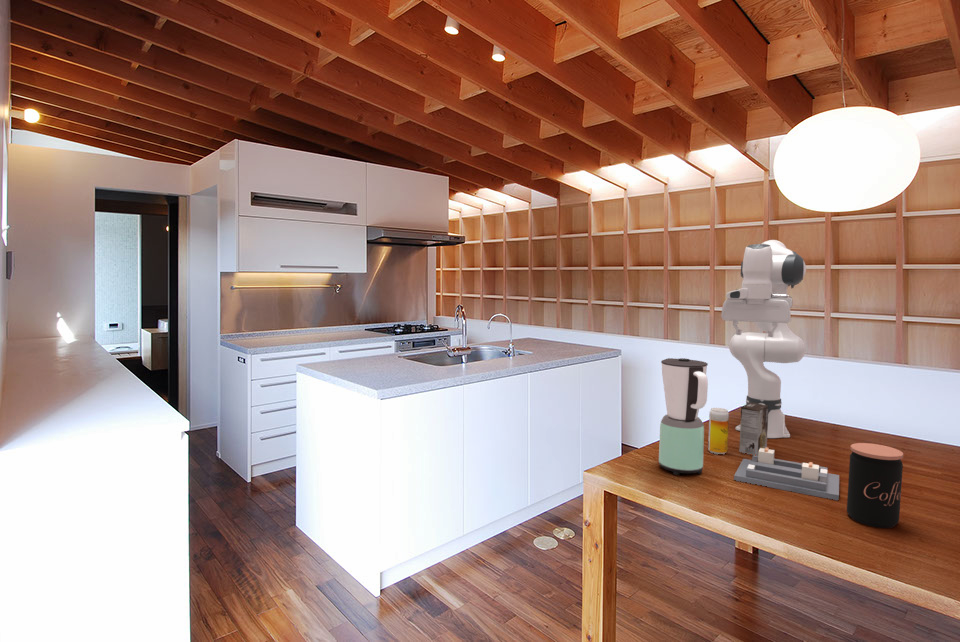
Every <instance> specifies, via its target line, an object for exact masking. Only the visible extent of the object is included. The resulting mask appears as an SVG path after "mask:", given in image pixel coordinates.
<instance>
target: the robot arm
mask: <svg viewBox="0 0 960 642" xmlns="http://www.w3.org/2000/svg"><path fill="white" fill-rule="evenodd" d="M806 272H807V266H806V263H805V261H804V258H803V257H802V256H801V255H800V254H798V253H797V252H796V251H794V250H791V249H789V248H787V246H786V244H784V243H783V242H782V241H779V240H777V239H770V240H769V239H768V240H766V241H763V242H762V243H754V244H752V243H751V244H749V245H747V246H746V247H745V249H744V254H743V260H742V262H741V263H740V277H741V279H742V281H741V288H738V289H737V288H736V289H734V290H731V291H728V292H726V294H725V297H726V299H725V300H724V302H723V303H722V308H721V319H722V321H724V322H725V321H726V322H727V321H729V322H732V326H733V328H734V330H735V334H734V335H733V336H732V337H730V341H729V344H728V346H729V347H728V348H729V352H730V354H731V356H732V357H734V358H735V359H736V360H738V362H739V363H740V364H741V365H742V367H743V368H744V369H745V372H746V375H747V376H746V377H747V395H746V397H745V398H746V399H745V401H746V402H745V405H746V404H748V403H757V404H762V405H767V406H768V430H767V439H779V438H791V434H790V432H789V430H788V428H787V426H786V422H785V421H786V419H785V417H786V415H785V413H783V412H782V410H781V409H782V404H783V403H782V398H781V388H782V380H781V377H780V376H778V374H776V373H775V372H774V371H771V370H769V369H768V368H766V366H765V365H764V363H765V362H766V363H775V364H776V363H777V364H791V363H792V364H793V363H799V362H800V361H801V360H802V359H803V358H804V356H805V354H806V344H805V342H804V340H803V339H802V338H801V337H800V336H798V335H797V334H795V333H794V332H793V331H792V330H791V329H790V327H789V326H788V323H790V322H791V318H792V317H791V308H792V307H793V298H792V297H791V296H790V295H788V288H789V287H790V288H791V289H794V287H795V286H796V285H799V284H800V283H801V282H803V280H804V277H805V276H806ZM739 322H746V323H747V322H749V323H752V322H753V323H754V324H755V326H756V327H757V328H758V329H759V330H761V331H763V332H753V331H747V332H742V329H739V327H738V324H739ZM740 425H741V423H739V425H737V426H735V430H736V431H739V432H740Z"/></svg>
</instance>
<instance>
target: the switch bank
mask: <svg viewBox="0 0 960 642" xmlns="http://www.w3.org/2000/svg"><path fill="white" fill-rule="evenodd" d="M803 463H804V462H801V463H800V462H797V461H791V460H789V461H788V460H784V459H779V458H774V465H772V464H767V463H761V462H758V456H755V455H752V457H751V459H748V458H742V461H740V465H739V466H738V467H737V470H736V471H735V474H734V475H733V481H734V480H736V481H735V482H740V481H741V482H740V483H745V482H747V483H746V484H750V483H751V484H750V485H755V484H757V485H756V486H760V485H762V487H765V486H767V487H766V488H772V489H776V490H782V491H786V492H791V491H792V493H797V494H803V495H808V496H812V497H817V498H818V497H819V498H823V499H827V498H828V500H832V499H833V500H834V501H838V500H839V498H840V497H839V496H840V475H839V474H834V473H829V472H828V469H829V468H828V467H825V466H820V465H819V477H818V481H814V480H809V479H803V478H801V477H802V464H803Z"/></svg>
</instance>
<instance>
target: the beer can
mask: <svg viewBox="0 0 960 642" xmlns="http://www.w3.org/2000/svg"><path fill="white" fill-rule="evenodd" d="M728 410H729V409H727V408H722V407H711V409H710V410H709V412H708V413H709V419H708V420H709V421H708V442H707V443H708V445H707V449H708V451H709V452H710V454H713V453H714V454H713V455H718V454H723V455H725V453H726V454H727V452H728V447H729V446H728V445H729V443H728V441H729V418H730V413H729V411H728Z"/></svg>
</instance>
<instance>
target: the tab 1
mask: <svg viewBox="0 0 960 642" xmlns="http://www.w3.org/2000/svg"><path fill="white" fill-rule="evenodd" d="M769 448H770V447H768V446H767V447H766V448H765V449H764V448H760V449H759V451H758V462H761V463H767V464H772V465H774V459H775V449H771V448H770V449H769Z"/></svg>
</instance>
